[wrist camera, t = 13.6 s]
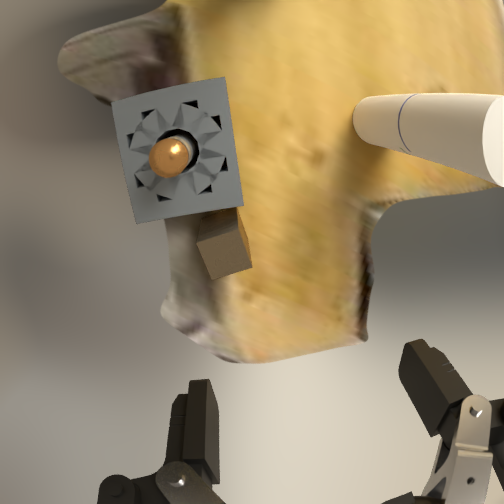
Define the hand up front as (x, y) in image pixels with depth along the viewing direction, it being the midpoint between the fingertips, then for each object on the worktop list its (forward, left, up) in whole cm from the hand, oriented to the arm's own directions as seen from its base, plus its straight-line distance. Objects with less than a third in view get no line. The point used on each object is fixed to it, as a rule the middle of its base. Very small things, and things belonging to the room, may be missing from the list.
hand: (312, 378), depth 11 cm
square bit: (+5, -4, -33) cm, 34 cm away
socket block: (-7, -8, -33) cm, 35 cm away
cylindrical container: (-8, +19, -33) cm, 39 cm away
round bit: (-7, -8, -33) cm, 35 cm away
